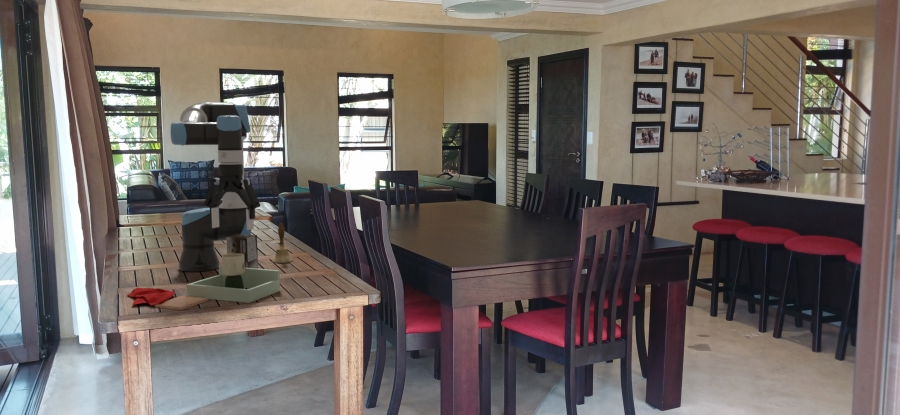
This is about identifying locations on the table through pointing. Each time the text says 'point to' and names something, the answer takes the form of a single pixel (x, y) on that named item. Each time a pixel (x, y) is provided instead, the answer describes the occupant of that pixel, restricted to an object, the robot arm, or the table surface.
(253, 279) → the frame
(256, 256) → the coffee box
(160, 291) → the cloth
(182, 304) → the terracotta tile
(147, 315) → the table surface
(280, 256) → the hand bell
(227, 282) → the character mug
